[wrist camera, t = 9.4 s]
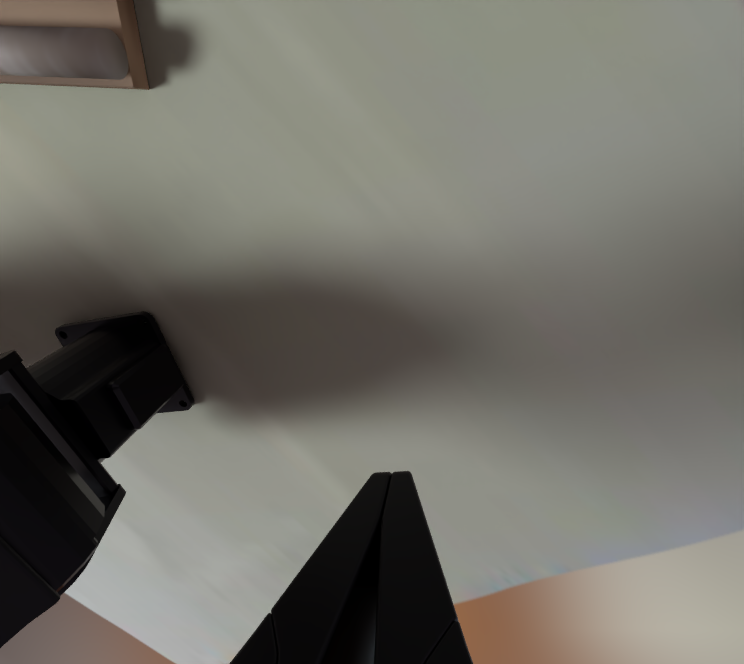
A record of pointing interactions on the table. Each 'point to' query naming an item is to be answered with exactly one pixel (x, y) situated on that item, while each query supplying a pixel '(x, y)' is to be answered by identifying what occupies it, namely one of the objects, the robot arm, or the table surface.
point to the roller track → (84, 19)
